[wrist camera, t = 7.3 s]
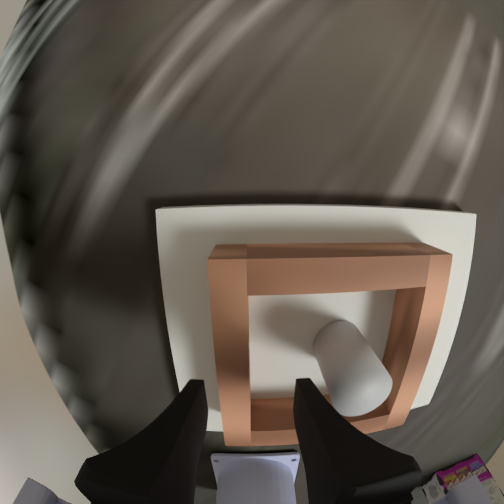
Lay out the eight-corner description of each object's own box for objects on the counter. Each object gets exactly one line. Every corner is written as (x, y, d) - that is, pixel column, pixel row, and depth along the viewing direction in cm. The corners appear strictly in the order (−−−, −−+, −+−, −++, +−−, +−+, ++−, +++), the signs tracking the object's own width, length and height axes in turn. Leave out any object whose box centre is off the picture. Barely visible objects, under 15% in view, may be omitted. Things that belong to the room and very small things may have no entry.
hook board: (421, 393, 19) (454, 440, 13) (191, 416, 19) (177, 479, 13) (463, 211, 15) (529, 226, 9) (163, 206, 15) (111, 221, 9)
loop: (388, 398, 17) (403, 424, 14) (228, 414, 17) (225, 445, 14) (423, 242, 14) (453, 254, 11) (216, 244, 14) (207, 259, 11)
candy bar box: (419, 487, 25) (448, 555, 9) (434, 471, 24) (469, 543, 8) (463, 469, 25) (495, 524, 9) (478, 452, 24) (514, 509, 8)
